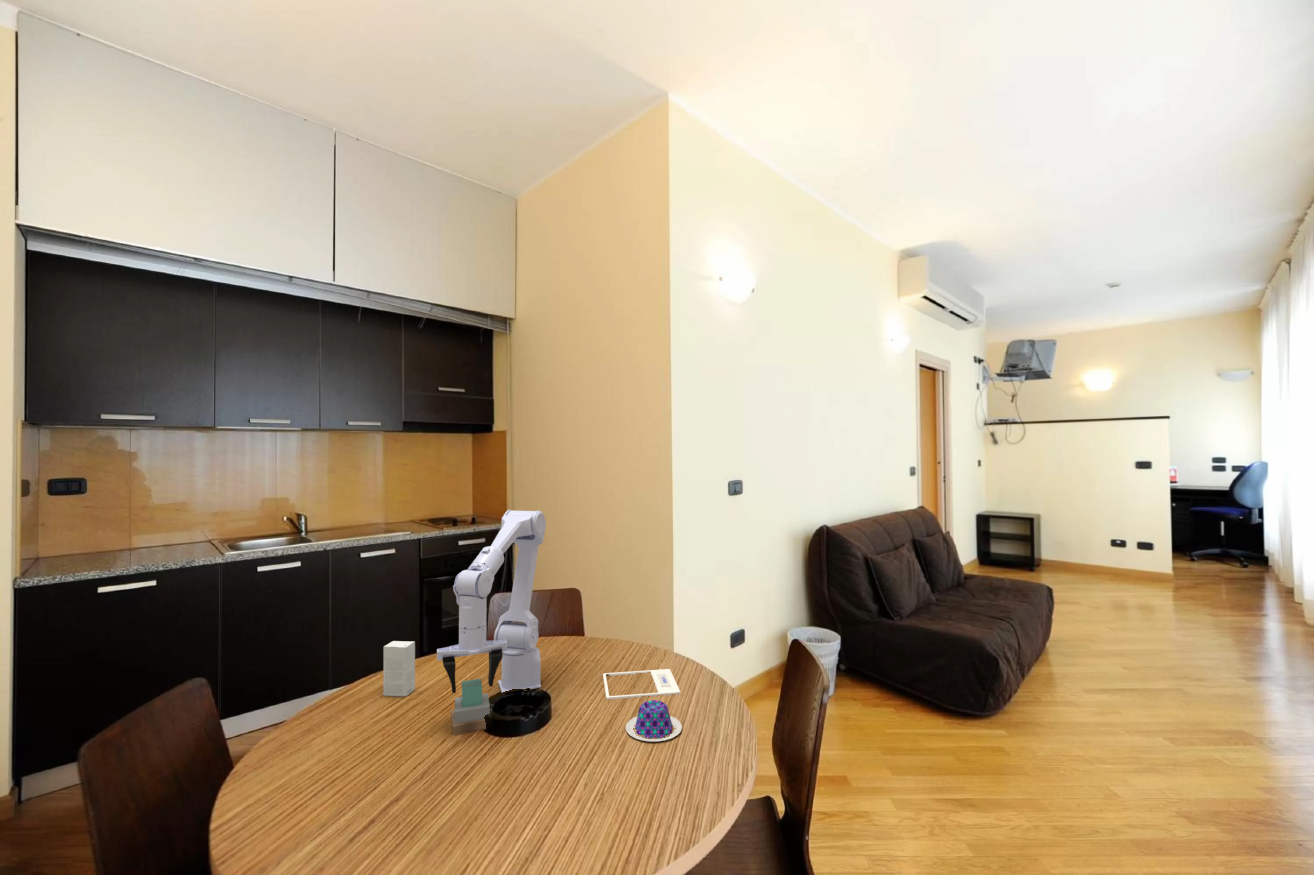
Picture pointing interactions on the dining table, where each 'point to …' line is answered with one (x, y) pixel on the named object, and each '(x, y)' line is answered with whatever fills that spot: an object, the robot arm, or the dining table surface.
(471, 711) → the tower top
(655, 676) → the photo frame
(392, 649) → the skincare box
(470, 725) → the tower base
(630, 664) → the dining table surface
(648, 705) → the pudding
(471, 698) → the teal block
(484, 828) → the dining table surface
